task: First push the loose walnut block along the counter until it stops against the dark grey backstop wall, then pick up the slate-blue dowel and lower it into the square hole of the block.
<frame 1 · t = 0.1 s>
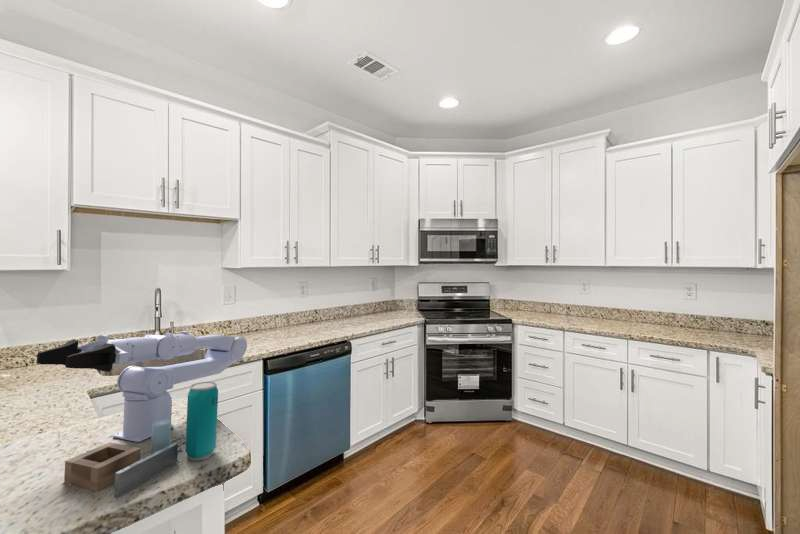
hand: (52, 360, 70), 22 cm above the countertop, tool horizontal, fingers open, 7 cm apart
beverage can: (200, 456, 79), on the countertop
block: (103, 465, 70), point 2 cm above the countertop, slide at 4.0 cm
dowel: (160, 456, 78), on the countertop
wall: (148, 478, 70), on the countertop
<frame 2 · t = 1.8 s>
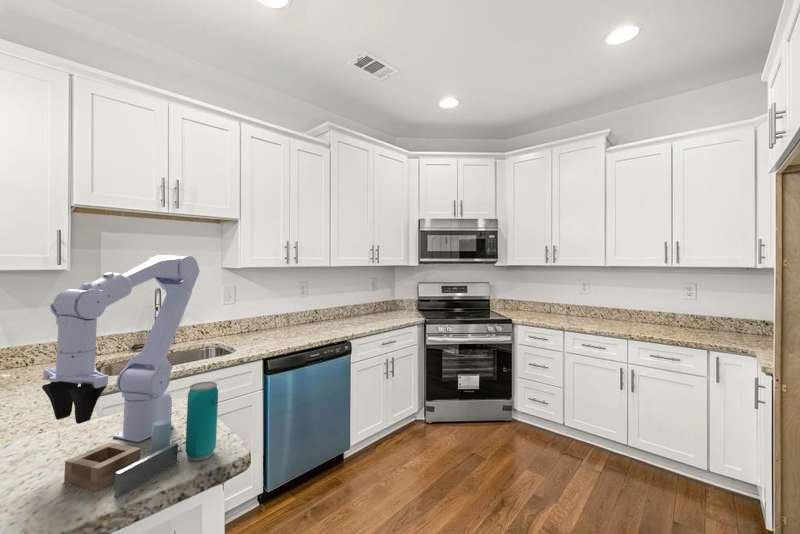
hand: (73, 419, 72), 9 cm above the countertop, tool pointing down, fingers open, 5 cm apart
nothing on the countertop moved.
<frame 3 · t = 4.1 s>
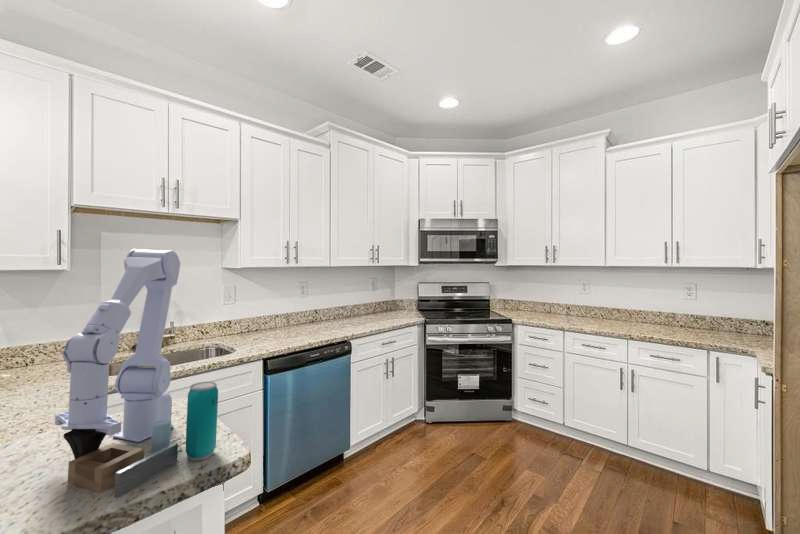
hand: (85, 466, 71), 1 cm above the countertop, tool pointing down, fingers closed
block: (107, 465, 70), point 2 cm above the countertop, slide at 3.1 cm, touching gripper
everything else where it was.
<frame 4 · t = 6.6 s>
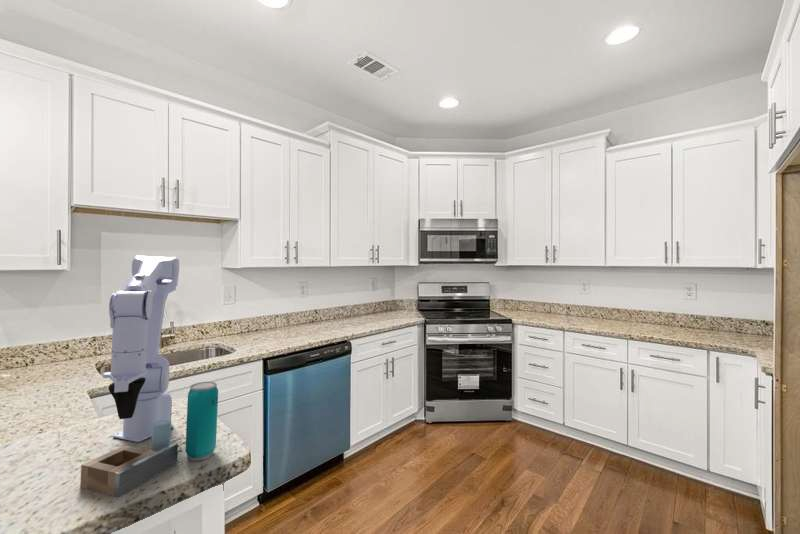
hand: (126, 417, 74), 9 cm above the countertop, tool pointing down, fingers closed
block: (120, 468, 69), point 2 cm above the countertop, slide at 0.0 cm, touching wall
everything else where it was.
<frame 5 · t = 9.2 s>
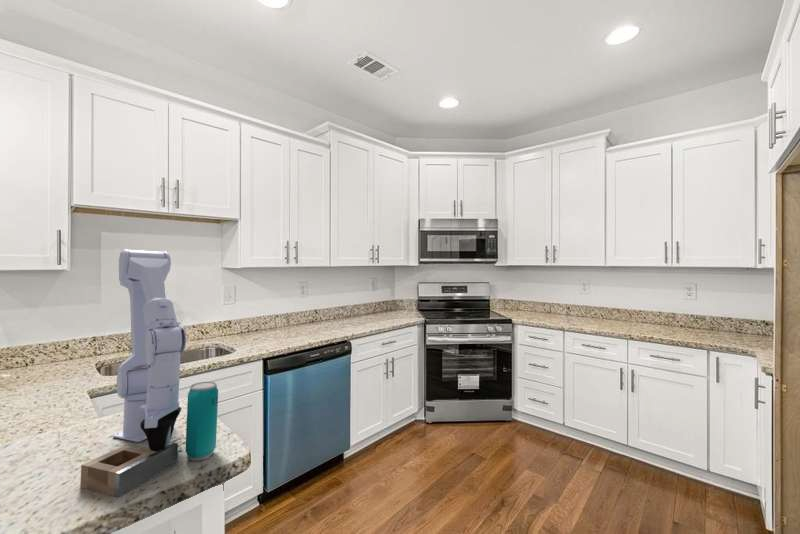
hand: (160, 448, 78), 2 cm above the countertop, tool pointing down, fingers closed on dowel, 3 cm apart
dowel: (160, 456, 78), on the countertop, touching gripper
everything else where it was.
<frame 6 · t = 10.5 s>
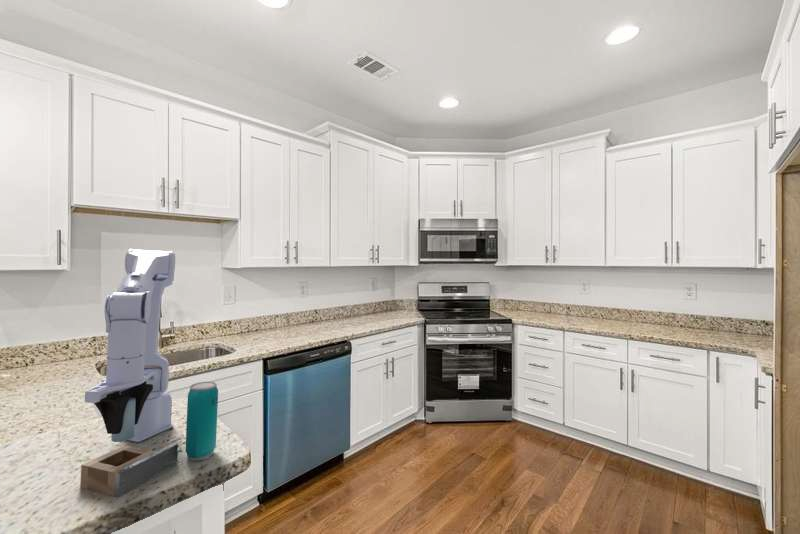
hand: (122, 428, 69), 9 cm above the countertop, tool pointing down, fingers closed on dowel, 3 cm apart
dowel: (122, 437, 69), point 8 cm above the countertop, touching gripper
everything else where it was.
when the fingers open (5 cm above the countertop, at t = 12.0 s): dowel drops 3 cm, resting in block.
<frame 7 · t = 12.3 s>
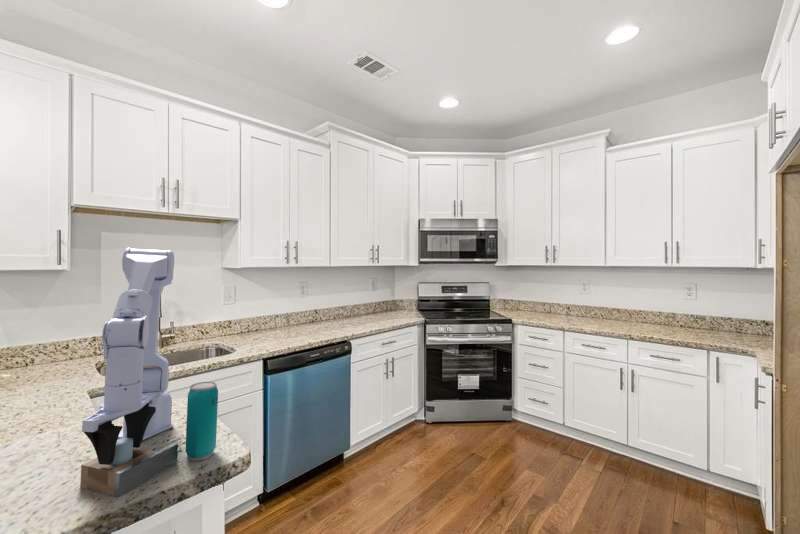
hand: (120, 454, 69), 5 cm above the countertop, tool pointing down, fingers open, 6 cm apart
dowel: (120, 479, 69), resting in block
everything else where it was.
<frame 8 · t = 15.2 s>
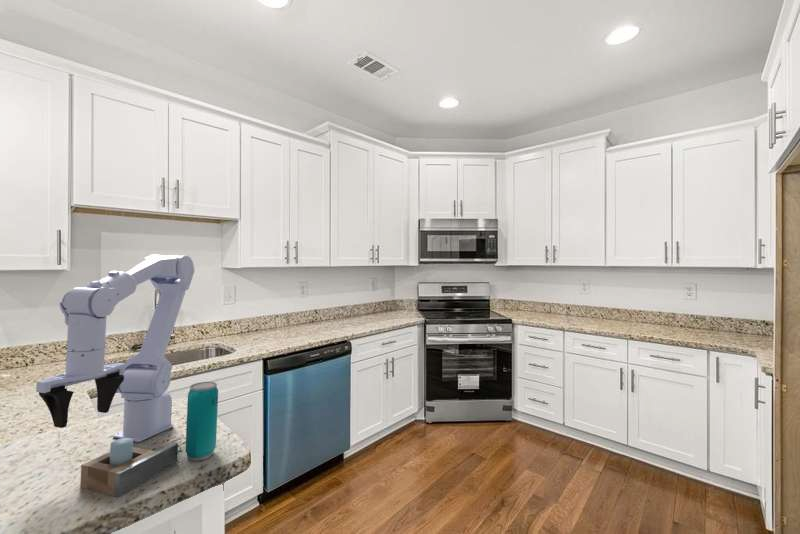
hand: (82, 418, 72), 10 cm above the countertop, tool pointing down, fingers open, 7 cm apart
nothing on the countertop moved.
at the end: block slide at 0.0 cm; dowel 0.1 cm off-centre on the block, point 0.0 cm above the block's base; dowel tilted 0° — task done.
